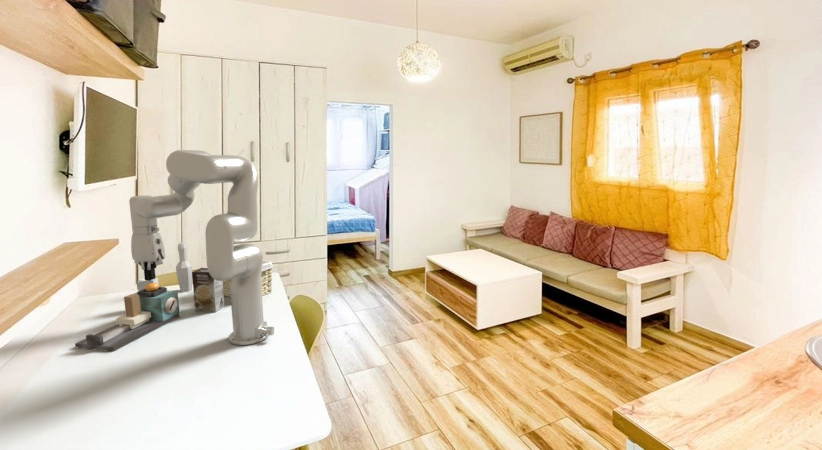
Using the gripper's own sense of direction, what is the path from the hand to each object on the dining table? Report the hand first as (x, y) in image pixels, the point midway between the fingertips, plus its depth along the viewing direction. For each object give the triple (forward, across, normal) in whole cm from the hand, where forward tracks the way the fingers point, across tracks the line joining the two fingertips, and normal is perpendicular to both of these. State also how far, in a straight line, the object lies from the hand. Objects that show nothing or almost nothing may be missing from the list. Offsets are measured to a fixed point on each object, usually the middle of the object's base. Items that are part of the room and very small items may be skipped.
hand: (150, 279), depth 145 cm
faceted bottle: (+16, +12, -32) cm, 38 cm away
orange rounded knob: (+4, 0, 0) cm, 4 cm away
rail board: (+15, 0, +10) cm, 18 cm away
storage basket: (+16, -16, -32) cm, 39 cm away
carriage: (+13, 0, +9) cm, 16 cm away
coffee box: (+15, -14, -13) cm, 24 cm away
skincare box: (+16, +10, -10) cm, 21 cm away
